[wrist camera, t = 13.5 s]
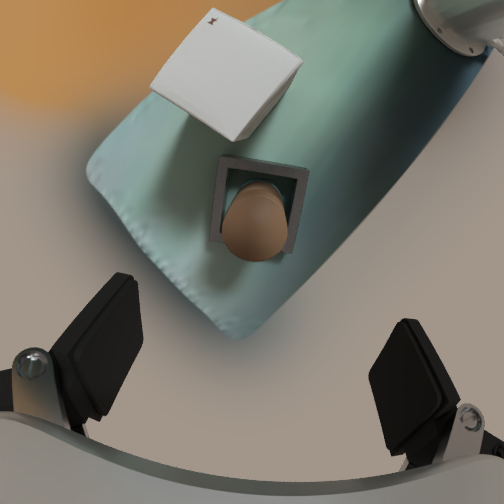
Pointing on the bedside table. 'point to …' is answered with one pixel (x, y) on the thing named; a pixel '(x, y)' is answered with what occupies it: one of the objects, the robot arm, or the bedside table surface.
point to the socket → (263, 167)
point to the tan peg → (256, 222)
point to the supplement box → (227, 75)
